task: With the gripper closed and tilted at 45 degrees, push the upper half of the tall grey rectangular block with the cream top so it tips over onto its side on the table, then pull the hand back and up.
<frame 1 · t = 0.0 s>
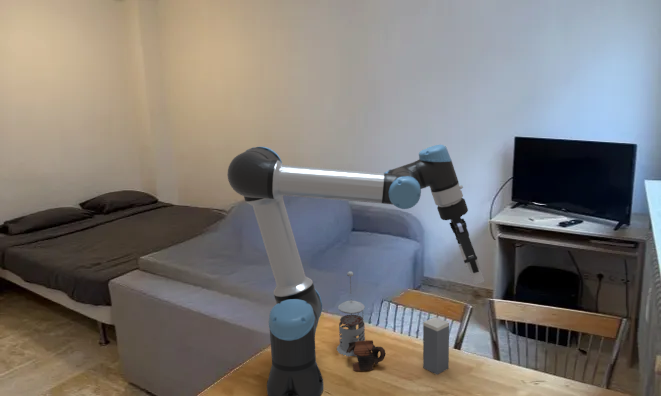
hand: (474, 273, 145), 28 cm above the table, tool tilted 20°, fingers open, 13 cm apart
french press: (353, 347, 165), on the table, touching pottery mug
grey rectangular block: (435, 368, 151), on the table
pottery mug: (366, 364, 155), on the table, touching french press
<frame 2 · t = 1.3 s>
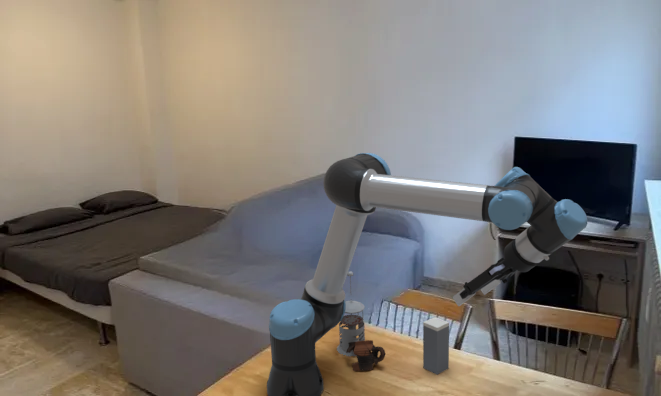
hand: (469, 295, 138), 25 cm above the table, tool tilted 45°, fingers open, 10 cm apart
nothing on the table moved.
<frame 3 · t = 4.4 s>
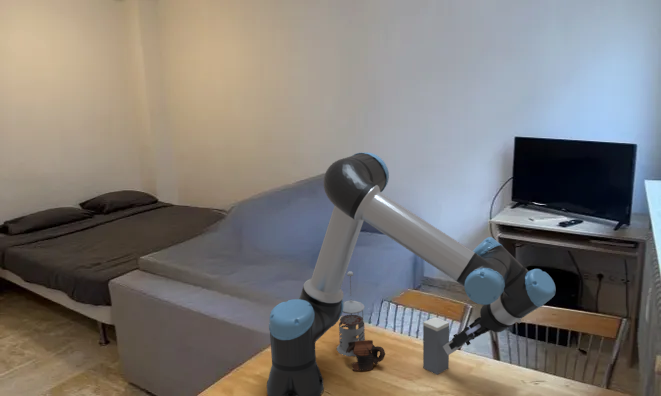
hand: (446, 349, 147), 7 cm above the table, tool tilted 45°, fingers closed
grey rectangular block: (435, 368, 151), on the table, touching gripper
everything else where it was.
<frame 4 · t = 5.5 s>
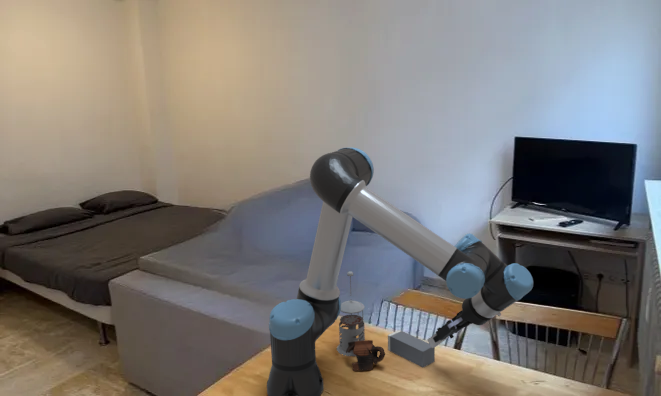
hand: (431, 343, 151), 7 cm above the table, tool tilted 45°, fingers closed
grey rectangular block: (428, 356, 153), point 2 cm above the table, tilted 90°
everything else where it was.
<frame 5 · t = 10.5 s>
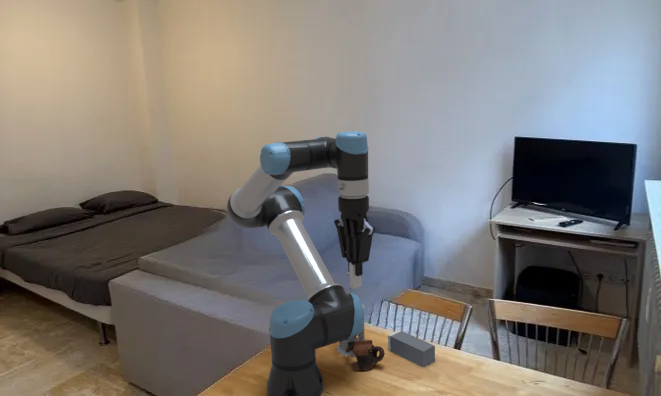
hand: (355, 286, 135), 29 cm above the table, tool pointing down, fingers closed
nothing on the table moved.
at the end: grey rectangular block tilted 90°; grey rectangular block inside the target area (0.4 cm from its centre), point 2.4 cm above the table; the gripper is holding nothing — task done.
